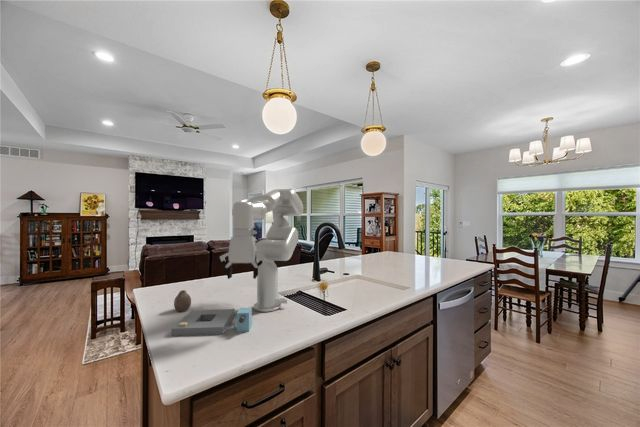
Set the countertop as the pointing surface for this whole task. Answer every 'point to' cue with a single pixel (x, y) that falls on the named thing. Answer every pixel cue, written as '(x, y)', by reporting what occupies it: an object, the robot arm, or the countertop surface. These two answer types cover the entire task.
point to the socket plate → (194, 325)
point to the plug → (244, 319)
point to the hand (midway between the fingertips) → (242, 277)
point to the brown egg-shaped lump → (182, 301)
